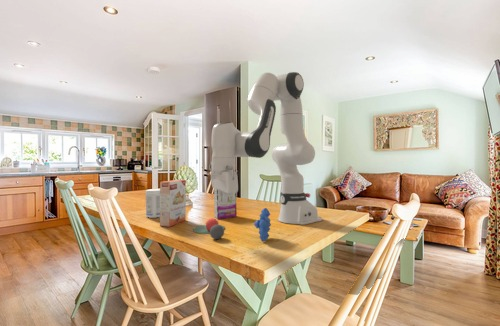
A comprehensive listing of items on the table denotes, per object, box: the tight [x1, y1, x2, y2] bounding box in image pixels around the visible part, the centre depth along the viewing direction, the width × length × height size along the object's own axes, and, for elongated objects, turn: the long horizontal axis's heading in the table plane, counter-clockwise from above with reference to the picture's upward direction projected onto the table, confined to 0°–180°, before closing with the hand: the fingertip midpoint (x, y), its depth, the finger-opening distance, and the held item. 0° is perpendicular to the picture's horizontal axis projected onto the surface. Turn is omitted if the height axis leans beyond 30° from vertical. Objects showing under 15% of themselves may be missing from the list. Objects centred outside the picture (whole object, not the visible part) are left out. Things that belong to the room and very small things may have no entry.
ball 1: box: [205, 218, 220, 231], centre depth 108 cm, size 6×6×6 cm
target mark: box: [192, 224, 226, 235], centre depth 111 cm, size 14×14×1 cm
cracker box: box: [159, 179, 187, 228], centre depth 122 cm, size 14×6×21 cm, turn 164°
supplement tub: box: [145, 188, 160, 219], centre depth 137 cm, size 10×10×15 cm
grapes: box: [253, 207, 272, 242], centre depth 96 cm, size 12×7×12 cm, turn 168°
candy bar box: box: [213, 188, 238, 220], centre depth 134 cm, size 11×5×16 cm, turn 119°
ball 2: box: [209, 224, 225, 240], centre depth 97 cm, size 6×6×6 cm
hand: (224, 202), depth 93 cm, fingers closed
